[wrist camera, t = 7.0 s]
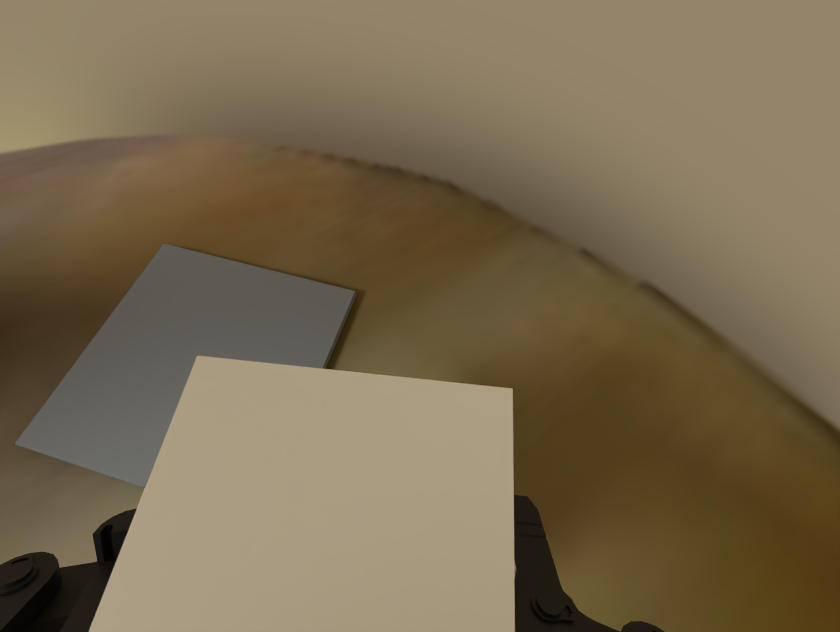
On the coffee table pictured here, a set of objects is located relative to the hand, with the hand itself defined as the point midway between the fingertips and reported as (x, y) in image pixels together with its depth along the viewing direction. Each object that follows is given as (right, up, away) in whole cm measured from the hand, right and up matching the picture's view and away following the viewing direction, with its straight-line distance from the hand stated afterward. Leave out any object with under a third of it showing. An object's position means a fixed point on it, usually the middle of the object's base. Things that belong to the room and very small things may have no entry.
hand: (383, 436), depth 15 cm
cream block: (0, -5, +2) cm, 6 cm away
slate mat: (-11, +2, +9) cm, 15 cm away
